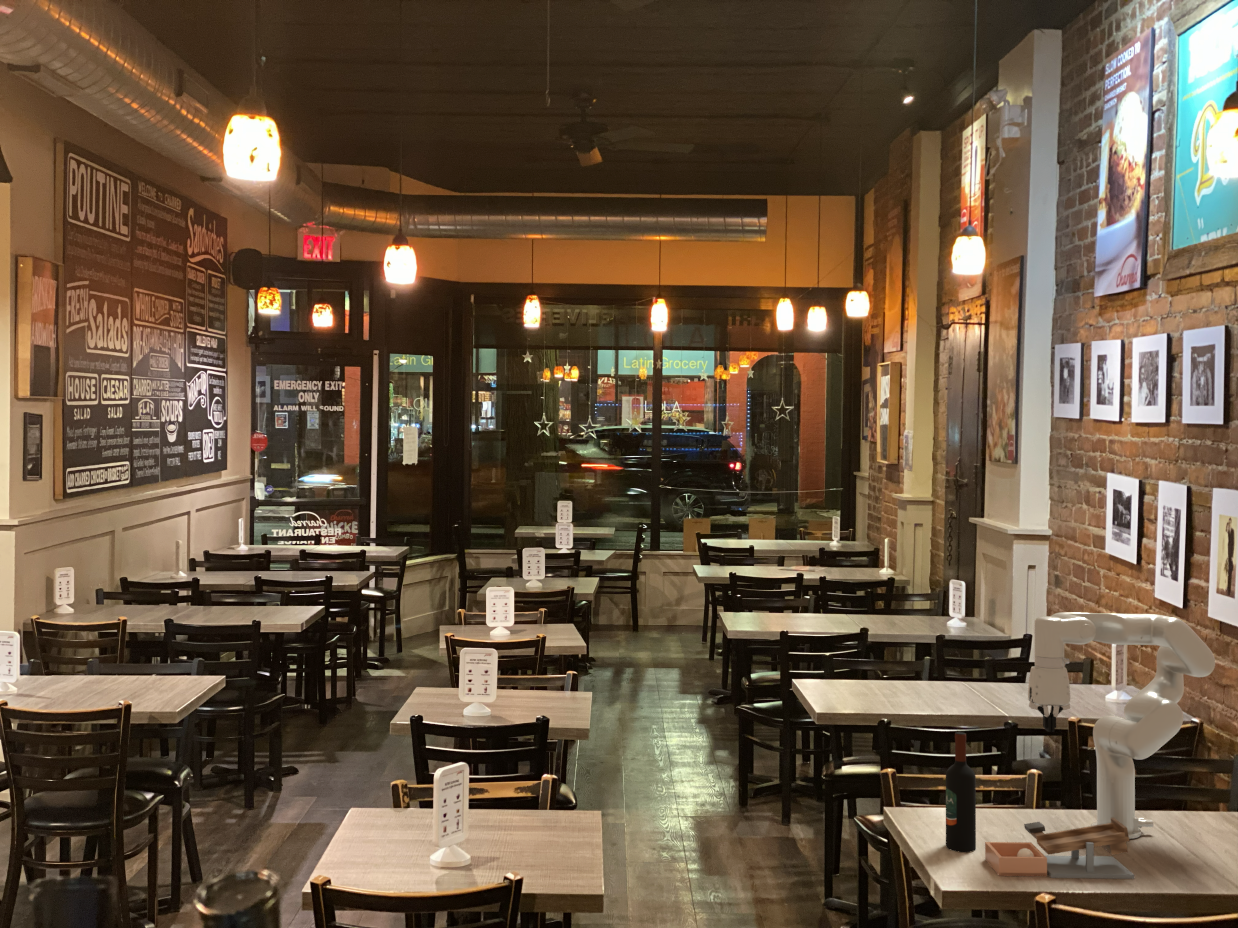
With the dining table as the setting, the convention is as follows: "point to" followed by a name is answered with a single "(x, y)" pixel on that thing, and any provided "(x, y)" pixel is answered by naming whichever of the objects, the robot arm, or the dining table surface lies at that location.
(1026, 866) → the pink hollow square tray
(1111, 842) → the lever
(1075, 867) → the stand
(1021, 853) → the ball
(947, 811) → the wine bottle
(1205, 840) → the dining table surface
